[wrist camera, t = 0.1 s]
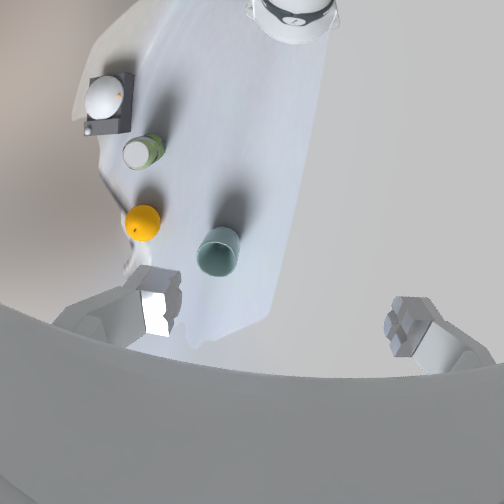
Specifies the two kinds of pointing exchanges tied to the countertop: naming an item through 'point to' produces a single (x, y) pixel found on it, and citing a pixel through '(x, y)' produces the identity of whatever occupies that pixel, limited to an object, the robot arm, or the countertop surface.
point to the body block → (109, 104)
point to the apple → (142, 222)
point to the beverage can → (143, 151)
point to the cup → (219, 252)
